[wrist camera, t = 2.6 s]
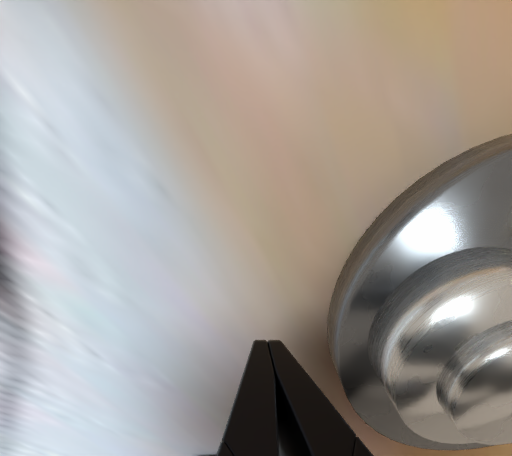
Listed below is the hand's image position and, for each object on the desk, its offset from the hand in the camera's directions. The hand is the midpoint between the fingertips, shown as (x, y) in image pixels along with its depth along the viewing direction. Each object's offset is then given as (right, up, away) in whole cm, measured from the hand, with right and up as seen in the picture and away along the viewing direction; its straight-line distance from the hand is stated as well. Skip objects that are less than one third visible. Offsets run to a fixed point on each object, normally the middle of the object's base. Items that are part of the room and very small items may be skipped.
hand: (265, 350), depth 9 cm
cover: (+7, 0, +2) cm, 8 cm away
